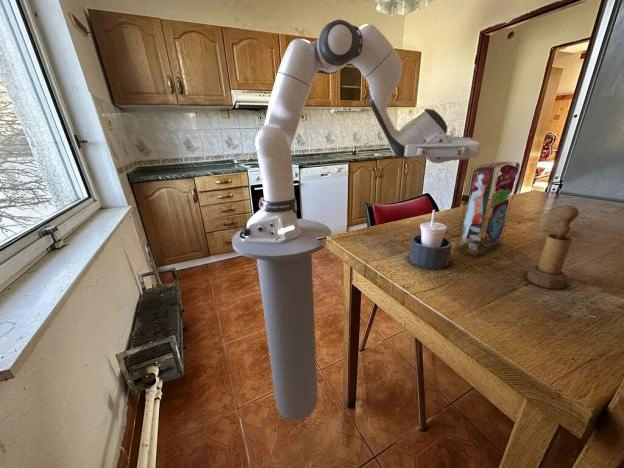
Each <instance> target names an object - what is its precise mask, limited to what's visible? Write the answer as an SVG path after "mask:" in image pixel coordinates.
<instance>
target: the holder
mask: <svg viewBox="0 0 624 468" xmlns="http://www.w3.org/2000/svg"><path fill="white" fill-rule="evenodd" d="M452 247H453V244H452V241H451V240H450V239H448V238H447V237H445V236H443V239H442V243H441V246H440V247H437V248H435V247H427V246H423V245H422V243H421V233H420V234H415V235H414V236H412V237H411V243H410V250H409V261H410V262H411V263H412V264H413V265H415V266H417V267H419V268H423V269H428V270H440V269H445V268H446V267H448V266H449V262H450V258H451V252H452Z"/></svg>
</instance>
